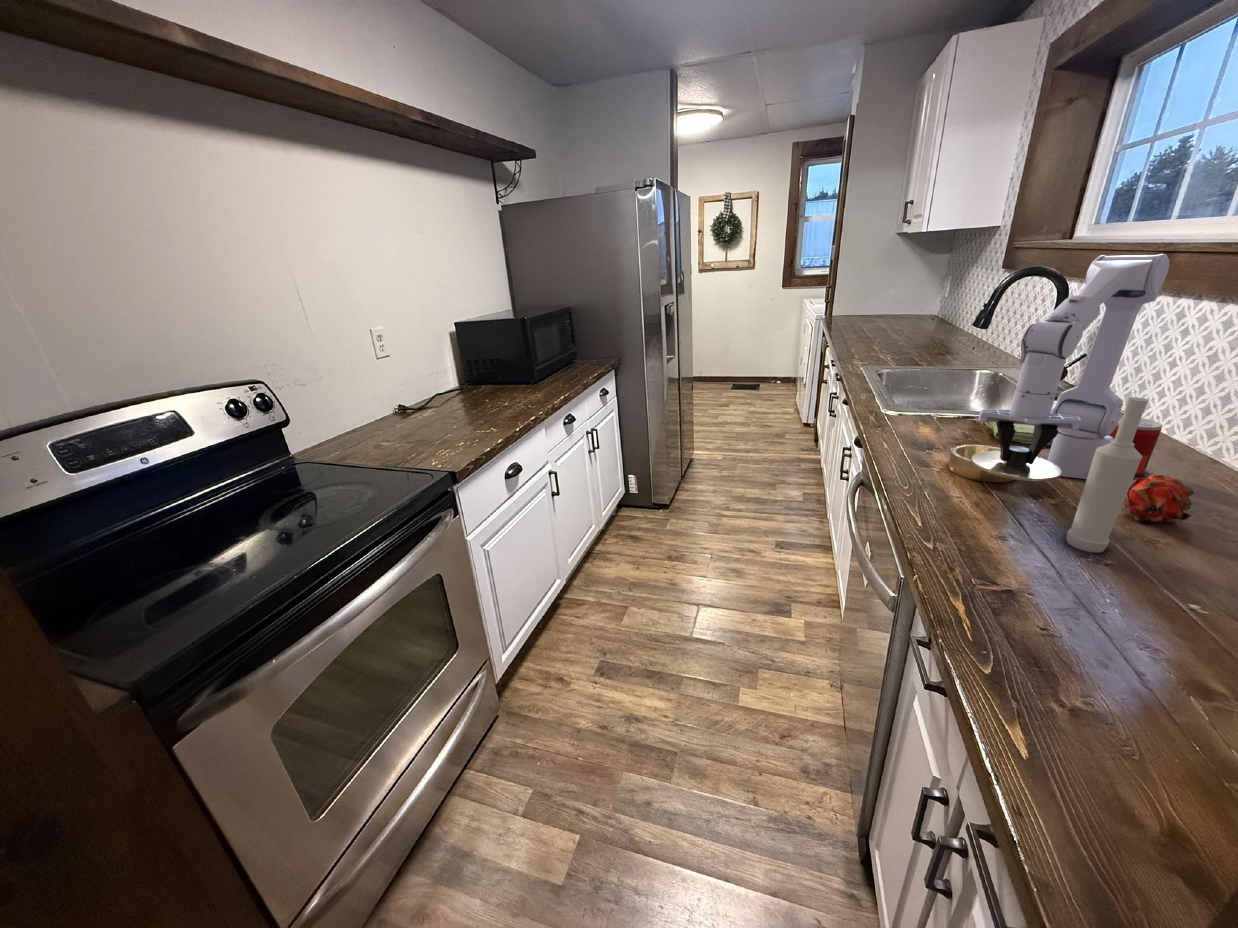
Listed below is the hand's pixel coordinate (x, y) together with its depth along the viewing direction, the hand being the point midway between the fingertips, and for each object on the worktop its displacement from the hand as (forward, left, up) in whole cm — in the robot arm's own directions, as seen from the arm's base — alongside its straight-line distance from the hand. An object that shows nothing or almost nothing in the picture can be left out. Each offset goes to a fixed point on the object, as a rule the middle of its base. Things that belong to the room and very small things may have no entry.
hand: (1015, 460), depth 94 cm
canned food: (-24, -27, -9) cm, 37 cm away
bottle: (-9, +13, -9) cm, 18 cm away
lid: (0, 0, -1) cm, 1 cm away
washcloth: (-12, -45, -9) cm, 47 cm away
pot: (+2, -16, -9) cm, 18 cm away
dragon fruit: (-22, -2, -9) cm, 23 cm away
